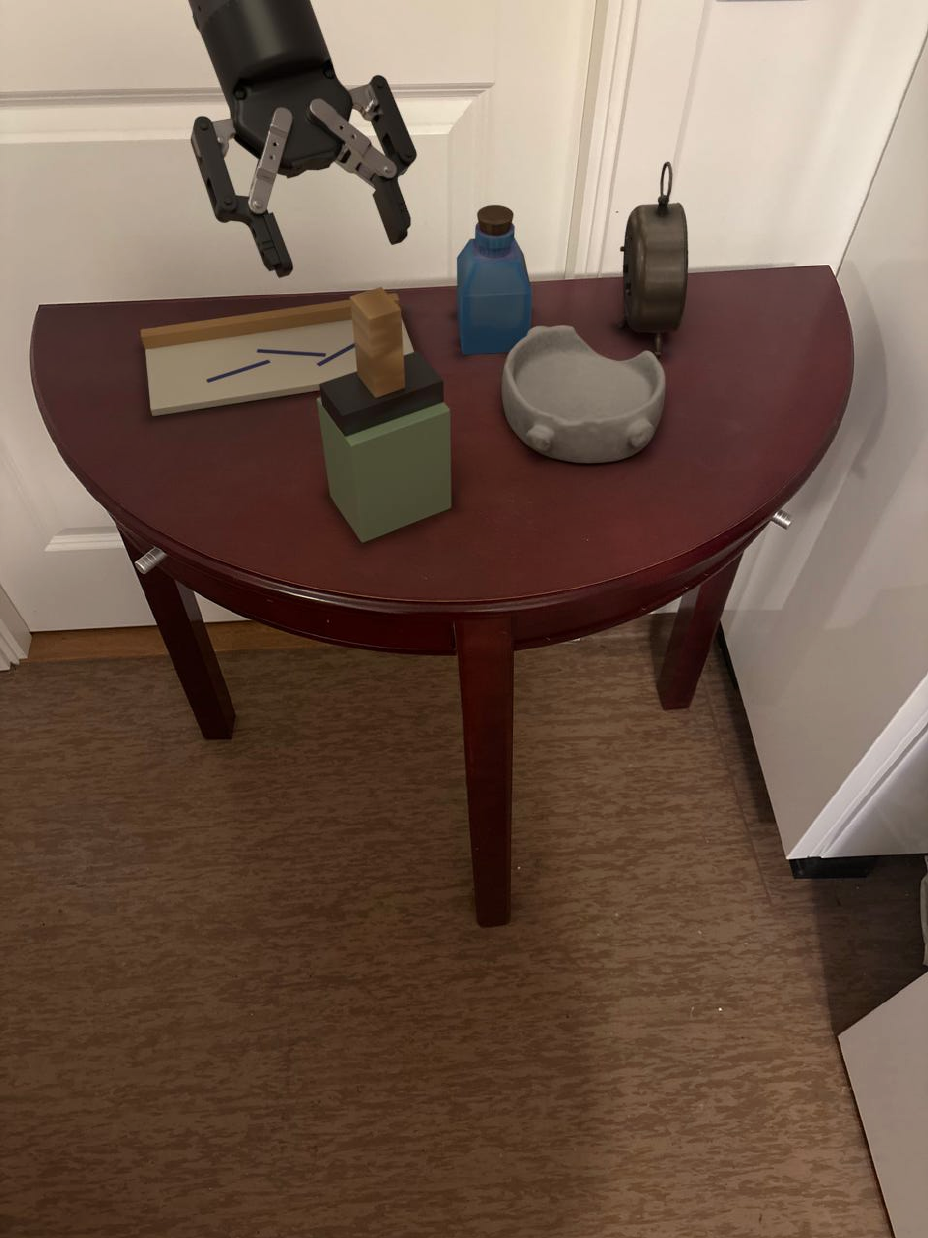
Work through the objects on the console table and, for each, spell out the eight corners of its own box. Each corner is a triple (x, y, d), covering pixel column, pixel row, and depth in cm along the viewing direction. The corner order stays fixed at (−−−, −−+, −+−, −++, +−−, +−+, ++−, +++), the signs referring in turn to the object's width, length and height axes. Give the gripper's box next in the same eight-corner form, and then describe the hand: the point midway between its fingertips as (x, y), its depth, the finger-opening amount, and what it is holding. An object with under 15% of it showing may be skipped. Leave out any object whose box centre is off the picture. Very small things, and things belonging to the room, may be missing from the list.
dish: (512, 360, 93) (514, 313, 89) (663, 377, 92) (672, 330, 88) (486, 465, 84) (488, 418, 80) (653, 486, 83) (663, 439, 79)
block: (361, 543, 79) (350, 445, 71) (329, 496, 82) (315, 398, 74) (451, 508, 81) (450, 409, 73) (417, 463, 84) (412, 365, 77)
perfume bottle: (462, 354, 94) (462, 235, 84) (457, 315, 98) (456, 197, 88) (528, 351, 94) (535, 231, 85) (520, 312, 98) (526, 194, 89)
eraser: (344, 437, 71) (333, 335, 65) (321, 405, 74) (307, 304, 67) (444, 402, 74) (442, 300, 67) (418, 372, 76) (414, 271, 69)
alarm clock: (676, 365, 93) (710, 197, 80) (617, 365, 93) (642, 196, 80) (664, 297, 100) (693, 132, 87) (609, 296, 100) (630, 131, 87)
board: (152, 416, 88) (146, 396, 86) (146, 349, 94) (140, 329, 92) (420, 374, 92) (419, 354, 90) (397, 312, 98) (396, 292, 96)
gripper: (152, 3, 60) (255, 269, 63) (366, -39, 65) (454, 211, 67) (146, 64, 67) (238, 300, 70) (339, 22, 72) (420, 246, 74)
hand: (344, 256), depth 69 cm, fingers open, 8 cm apart
